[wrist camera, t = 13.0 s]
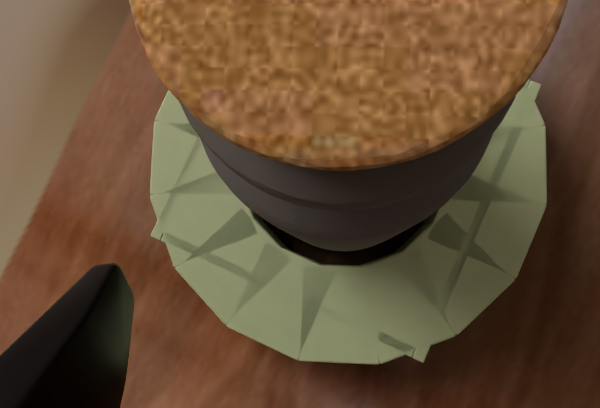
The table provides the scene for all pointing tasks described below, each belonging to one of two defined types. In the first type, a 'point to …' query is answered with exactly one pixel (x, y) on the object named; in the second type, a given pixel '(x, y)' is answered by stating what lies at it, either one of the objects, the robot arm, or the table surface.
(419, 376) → the table surface
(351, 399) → the table surface
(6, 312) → the table surface
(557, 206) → the table surface
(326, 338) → the holder
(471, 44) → the bottle
